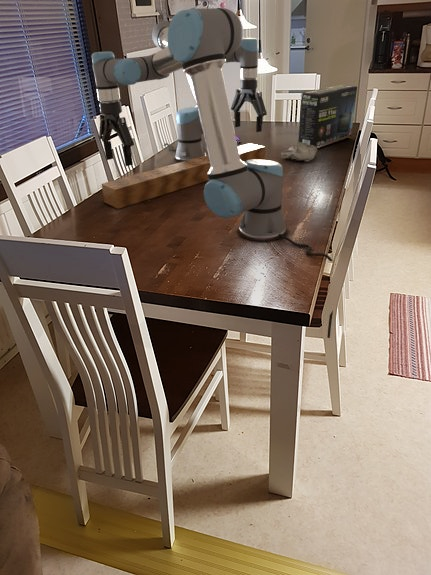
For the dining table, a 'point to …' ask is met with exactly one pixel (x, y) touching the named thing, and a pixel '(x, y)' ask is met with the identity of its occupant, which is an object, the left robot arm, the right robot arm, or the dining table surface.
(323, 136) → the router box
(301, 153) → the fossil
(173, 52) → the right robot arm
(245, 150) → the wooden beam
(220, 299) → the dining table surface
